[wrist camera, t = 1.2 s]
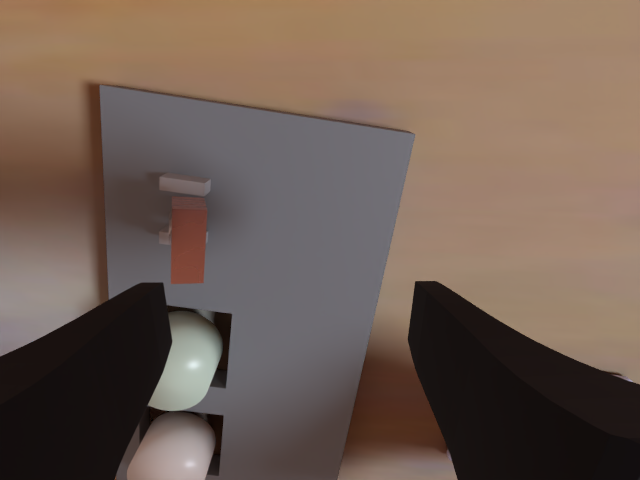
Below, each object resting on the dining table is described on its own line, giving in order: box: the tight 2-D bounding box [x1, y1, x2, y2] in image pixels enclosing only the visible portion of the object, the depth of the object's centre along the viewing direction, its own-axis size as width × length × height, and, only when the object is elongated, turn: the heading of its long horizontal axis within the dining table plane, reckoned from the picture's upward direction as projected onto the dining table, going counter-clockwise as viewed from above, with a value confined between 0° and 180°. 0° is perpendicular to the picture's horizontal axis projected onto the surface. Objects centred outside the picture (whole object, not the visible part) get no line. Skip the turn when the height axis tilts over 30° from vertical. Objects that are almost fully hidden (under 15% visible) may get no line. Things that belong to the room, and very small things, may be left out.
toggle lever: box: [169, 196, 207, 284], centre depth 17 cm, size 1×3×4 cm, turn 171°
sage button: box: [148, 311, 223, 411], centre depth 21 cm, size 4×4×3 cm
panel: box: [100, 85, 415, 480], centre depth 22 cm, size 14×24×2 cm, turn 172°
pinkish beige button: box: [127, 411, 216, 480], centre depth 23 cm, size 4×4×3 cm
